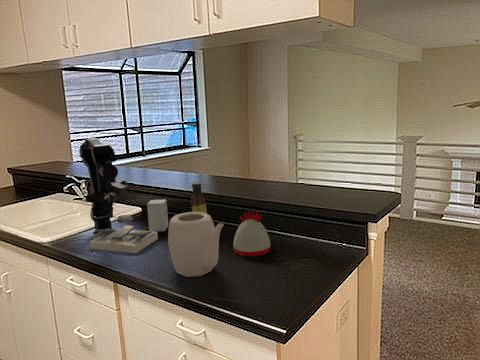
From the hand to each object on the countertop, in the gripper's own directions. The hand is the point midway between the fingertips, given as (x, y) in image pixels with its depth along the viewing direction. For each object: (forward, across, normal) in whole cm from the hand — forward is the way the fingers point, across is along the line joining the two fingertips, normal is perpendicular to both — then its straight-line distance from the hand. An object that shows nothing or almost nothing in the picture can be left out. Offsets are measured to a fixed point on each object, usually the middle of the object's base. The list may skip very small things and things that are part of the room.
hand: (109, 213), depth 164 cm
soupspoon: (+13, +31, +20) cm, 39 cm away
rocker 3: (+8, -1, -15) cm, 17 cm away
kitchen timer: (+12, +4, -59) cm, 60 cm away
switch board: (+12, -1, -7) cm, 14 cm away
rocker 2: (+8, -1, -7) cm, 10 cm away
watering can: (+12, -19, -47) cm, 52 cm away
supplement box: (+12, +19, -11) cm, 25 cm away
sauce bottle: (+12, +26, -28) cm, 40 cm away
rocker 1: (+8, -1, +1) cm, 8 cm away
